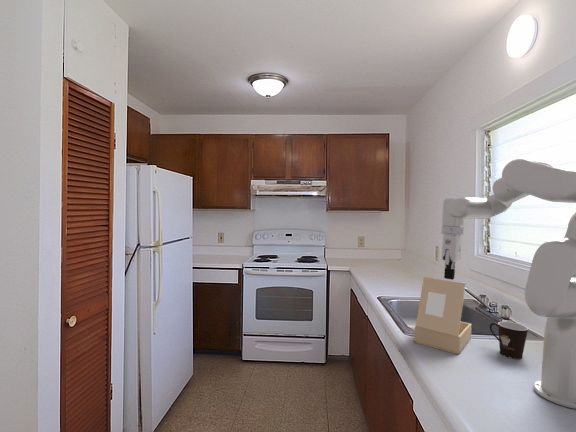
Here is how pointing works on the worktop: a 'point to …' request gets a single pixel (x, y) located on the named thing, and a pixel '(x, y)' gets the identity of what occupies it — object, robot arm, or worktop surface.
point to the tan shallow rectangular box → (444, 338)
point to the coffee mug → (511, 338)
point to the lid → (441, 306)
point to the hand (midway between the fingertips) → (449, 278)
